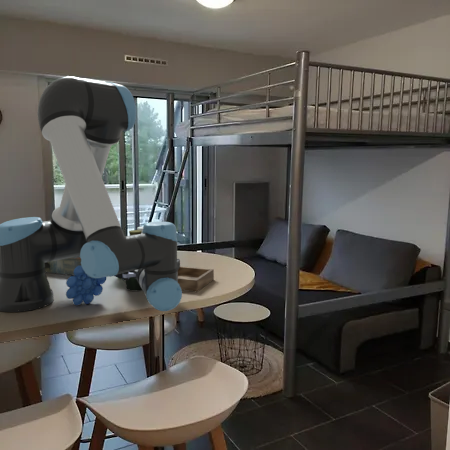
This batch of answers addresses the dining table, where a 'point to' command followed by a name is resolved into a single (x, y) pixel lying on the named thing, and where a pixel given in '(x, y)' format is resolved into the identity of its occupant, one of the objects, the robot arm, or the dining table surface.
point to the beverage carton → (63, 266)
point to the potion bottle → (132, 282)
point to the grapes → (83, 287)
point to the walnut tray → (194, 278)
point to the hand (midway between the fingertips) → (140, 260)
